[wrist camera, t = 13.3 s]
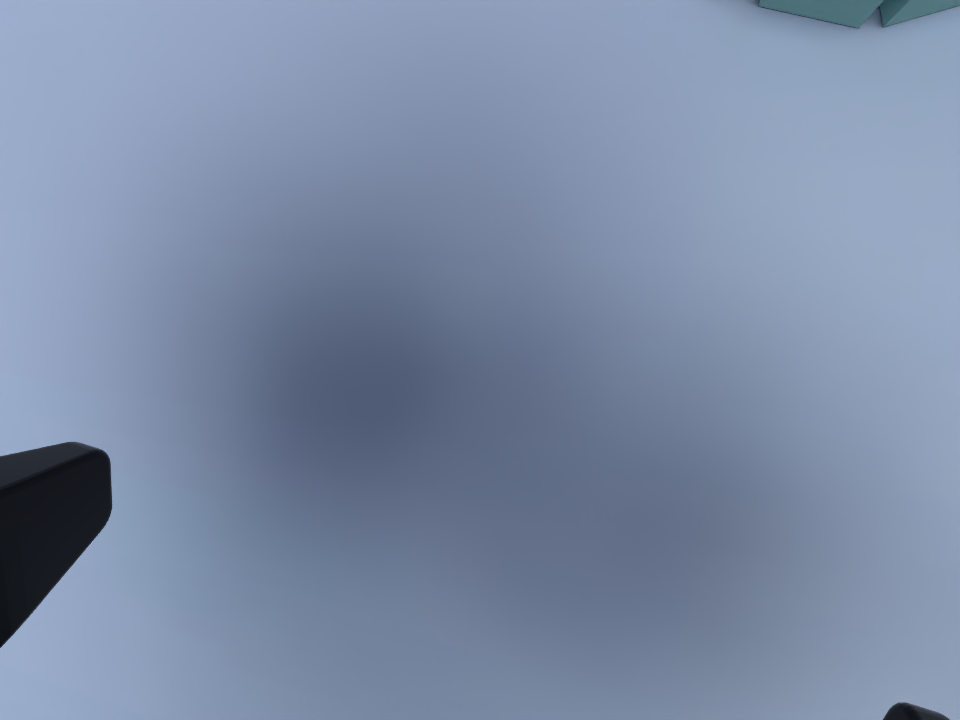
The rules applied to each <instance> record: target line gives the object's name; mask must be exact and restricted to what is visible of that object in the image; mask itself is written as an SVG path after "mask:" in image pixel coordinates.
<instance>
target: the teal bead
mask: <svg viewBox="0 0 960 720" xmlns="http://www.w3.org/2000/svg"><path fill="white" fill-rule="evenodd" d="M879 5H880V11H881V17H882V23H883V27H886V26H889V25H893V24H896V23H900V22H903V21H907V20H910V19H914V18H917V17H921V16H924V15H927V14H931V13H934V12H938V11H941V10H945V9H948V8H952V7H955V6H959V5H960V0H760V2H759V5H758V6H760V7H765V8H769V9H774V10H778V11H783V12H787V13H792V14H796V15H801V16H805V17H810V18H815V19H819V20H824V21H828V22H833V23H837V24H842V25H846V26H851V27H855V28H860V26H861V25H862V24H863V23H864V22H865V21H866V20H867V19H868V18H869V16H870V15H871V14H872V13H873V12H874V11H875V10H876V9H877V7H878V6H879Z"/></svg>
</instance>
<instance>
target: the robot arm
mask: <svg viewBox="0 0 960 720" xmlns="http://www.w3.org/2000/svg"><path fill="white" fill-rule="evenodd" d="M111 510H112V488H111V464H110V459H109V457H108V455H107V453H106V452H104V451H103V450H101V449H98V448H95V447H92V446H89V445H85V444H82V443H78V442H66V443H62V444H57V445H52V446H47V447H43V448H38V449H33V450H29V451H24V452H19V453H14V454H10V455H5V456H0V648H1V647H2V646H3V645H4V644H5V643H6V642H7V641H8V640H9V638H10V637H11V636H12V635H13V634H14V633H15V632H16V631H17V630H18V629H19V627H20V626H21V625H22V624H23V623H24V622H25V621H26V620H27V618H28V617H29V616H30V615H31V614H32V613H33V611H34V610H35V609H36V608H37V607H38V605H39V604H40V603H41V602H42V601H43V599H44V598H45V597H46V596H47V595H48V593H49V592H50V591H51V590H52V589H53V588H54V586H55V585H56V584H57V583H58V582H59V580H60V579H61V578H62V577H63V576H64V574H65V573H66V572H67V571H68V570H69V569H70V567H71V566H72V565H73V564H74V563H75V561H76V560H77V559H78V558H79V557H80V555H81V554H82V553H83V552H84V551H85V549H86V548H87V547H88V546H89V545H90V544H91V542H92V541H93V540H94V539H95V538H96V536H97V535H98V534H99V533H100V532H101V530H102V529H103V528H104V526H105V525H106V523H107V521H108V519H109V517H110V514H111ZM883 720H949V719H948V718H947V717H945V716H944V715H942V714H940V713H938V712H935V711H932V710H928V709H925V708H922V707H919V706H916V705H912V704H909V703H897V704H895V705H893V706H892V707H891V708H890V709H889V711H888V712H887V714H886V715H885V717H884V719H883Z"/></svg>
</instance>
